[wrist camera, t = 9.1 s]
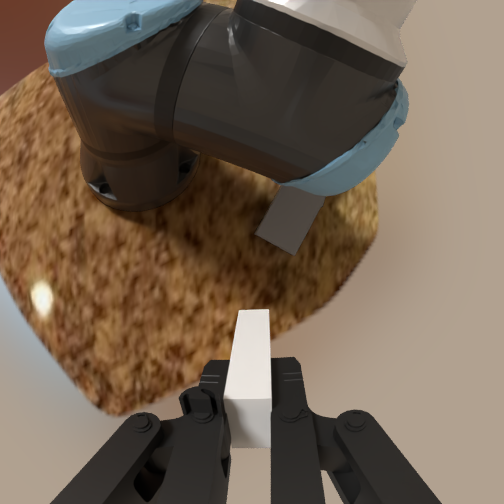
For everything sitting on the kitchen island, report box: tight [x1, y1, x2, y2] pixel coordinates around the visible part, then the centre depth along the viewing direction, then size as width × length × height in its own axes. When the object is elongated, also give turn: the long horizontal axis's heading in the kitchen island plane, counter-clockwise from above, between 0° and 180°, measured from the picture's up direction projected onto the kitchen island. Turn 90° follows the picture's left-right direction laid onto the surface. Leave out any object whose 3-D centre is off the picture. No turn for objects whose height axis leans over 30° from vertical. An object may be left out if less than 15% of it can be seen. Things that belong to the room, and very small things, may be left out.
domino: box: [254, 185, 326, 256], centre depth 33 cm, size 2×5×10 cm
